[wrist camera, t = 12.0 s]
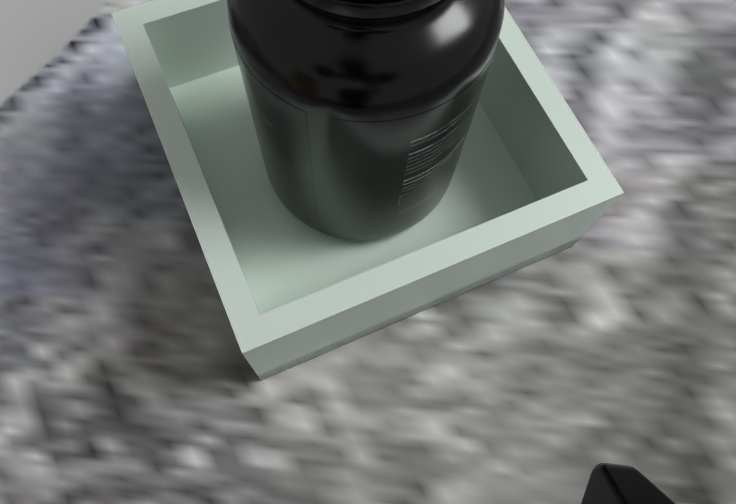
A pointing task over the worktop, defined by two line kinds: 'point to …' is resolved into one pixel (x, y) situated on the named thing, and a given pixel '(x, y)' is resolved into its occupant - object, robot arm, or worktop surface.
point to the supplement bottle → (363, 102)
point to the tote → (356, 257)
